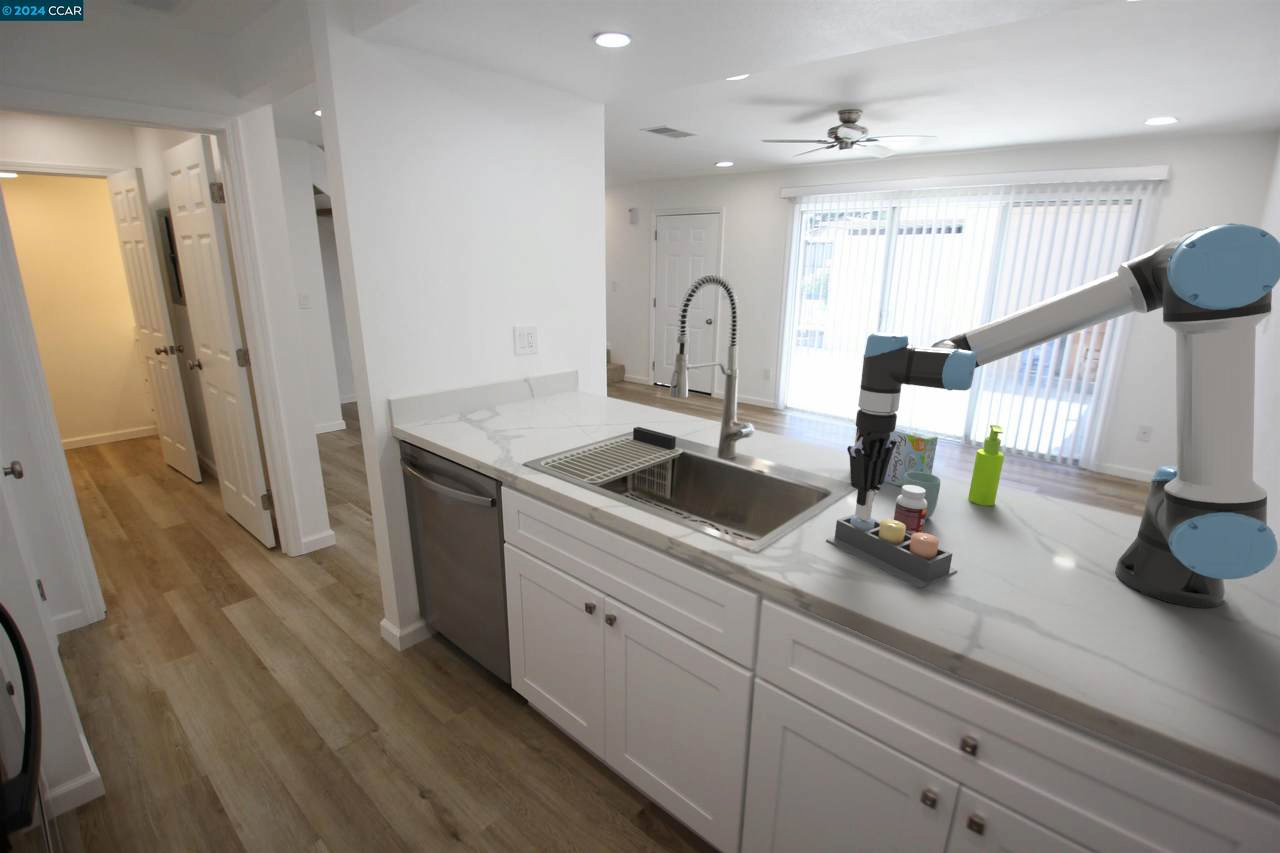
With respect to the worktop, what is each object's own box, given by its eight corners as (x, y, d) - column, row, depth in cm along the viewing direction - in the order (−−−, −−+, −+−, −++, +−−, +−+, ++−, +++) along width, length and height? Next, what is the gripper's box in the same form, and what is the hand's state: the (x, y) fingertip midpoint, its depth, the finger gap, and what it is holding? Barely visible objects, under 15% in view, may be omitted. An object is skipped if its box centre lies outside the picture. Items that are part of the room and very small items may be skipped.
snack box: (930, 489, 154) (939, 436, 150) (918, 494, 151) (927, 439, 147) (861, 466, 171) (868, 418, 167) (849, 470, 168) (856, 420, 164)
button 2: (907, 546, 117) (911, 525, 116) (892, 552, 114) (896, 530, 113) (887, 537, 121) (890, 516, 119) (872, 542, 118) (875, 521, 117)
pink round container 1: (940, 561, 111) (944, 539, 110) (925, 567, 109) (929, 545, 107) (917, 551, 115) (921, 529, 114) (902, 557, 113) (906, 535, 111)
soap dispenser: (970, 504, 145) (984, 428, 139) (966, 495, 151) (980, 421, 145) (997, 508, 142) (1012, 431, 137) (992, 498, 149) (1007, 424, 143)
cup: (938, 524, 133) (945, 484, 130) (902, 521, 134) (908, 481, 132) (929, 511, 140) (935, 472, 138) (895, 508, 142) (900, 470, 139)
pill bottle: (924, 543, 124) (932, 495, 121) (893, 538, 126) (900, 492, 123) (919, 531, 130) (927, 485, 127) (890, 527, 131) (896, 482, 128)
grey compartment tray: (957, 572, 112) (960, 551, 111) (920, 588, 106) (923, 566, 105) (862, 528, 130) (864, 510, 129) (826, 540, 124) (828, 521, 123)
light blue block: (877, 540, 123) (879, 520, 122) (862, 545, 121) (865, 525, 119) (858, 531, 127) (860, 512, 126) (843, 536, 125) (846, 516, 123)
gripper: (881, 403, 122) (867, 505, 129) (840, 410, 116) (827, 517, 122) (913, 410, 116) (897, 517, 123) (872, 418, 110) (857, 531, 116)
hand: (862, 517), depth 122 cm, fingers closed
